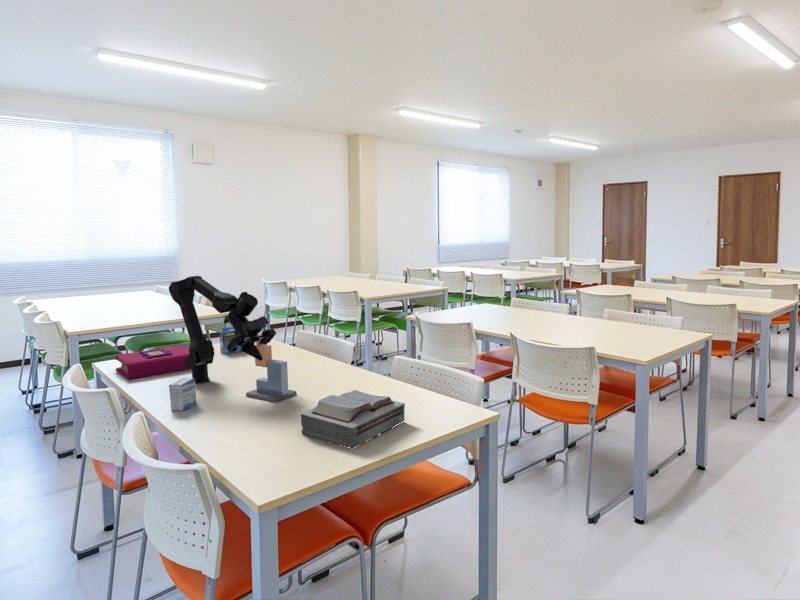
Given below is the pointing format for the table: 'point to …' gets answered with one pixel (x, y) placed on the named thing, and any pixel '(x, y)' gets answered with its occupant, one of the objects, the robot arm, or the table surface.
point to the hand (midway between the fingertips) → (265, 358)
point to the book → (153, 362)
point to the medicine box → (182, 394)
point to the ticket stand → (273, 383)
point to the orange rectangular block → (263, 354)
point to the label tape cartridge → (227, 340)
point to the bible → (351, 418)
